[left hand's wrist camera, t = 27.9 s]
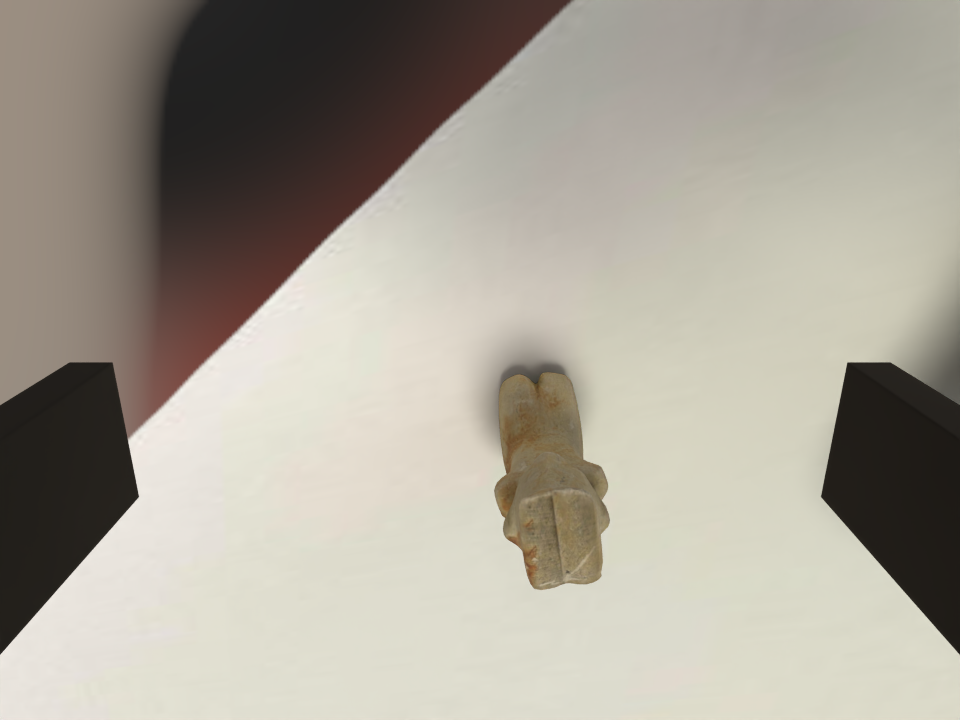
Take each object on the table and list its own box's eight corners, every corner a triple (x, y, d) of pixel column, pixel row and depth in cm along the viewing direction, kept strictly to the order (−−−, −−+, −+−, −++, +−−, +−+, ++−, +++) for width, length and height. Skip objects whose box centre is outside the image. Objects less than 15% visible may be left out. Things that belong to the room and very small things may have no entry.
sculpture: (582, 362, 42) (633, 489, 28) (583, 465, 45) (630, 628, 31) (488, 368, 43) (492, 496, 28) (494, 470, 45) (501, 634, 31)
